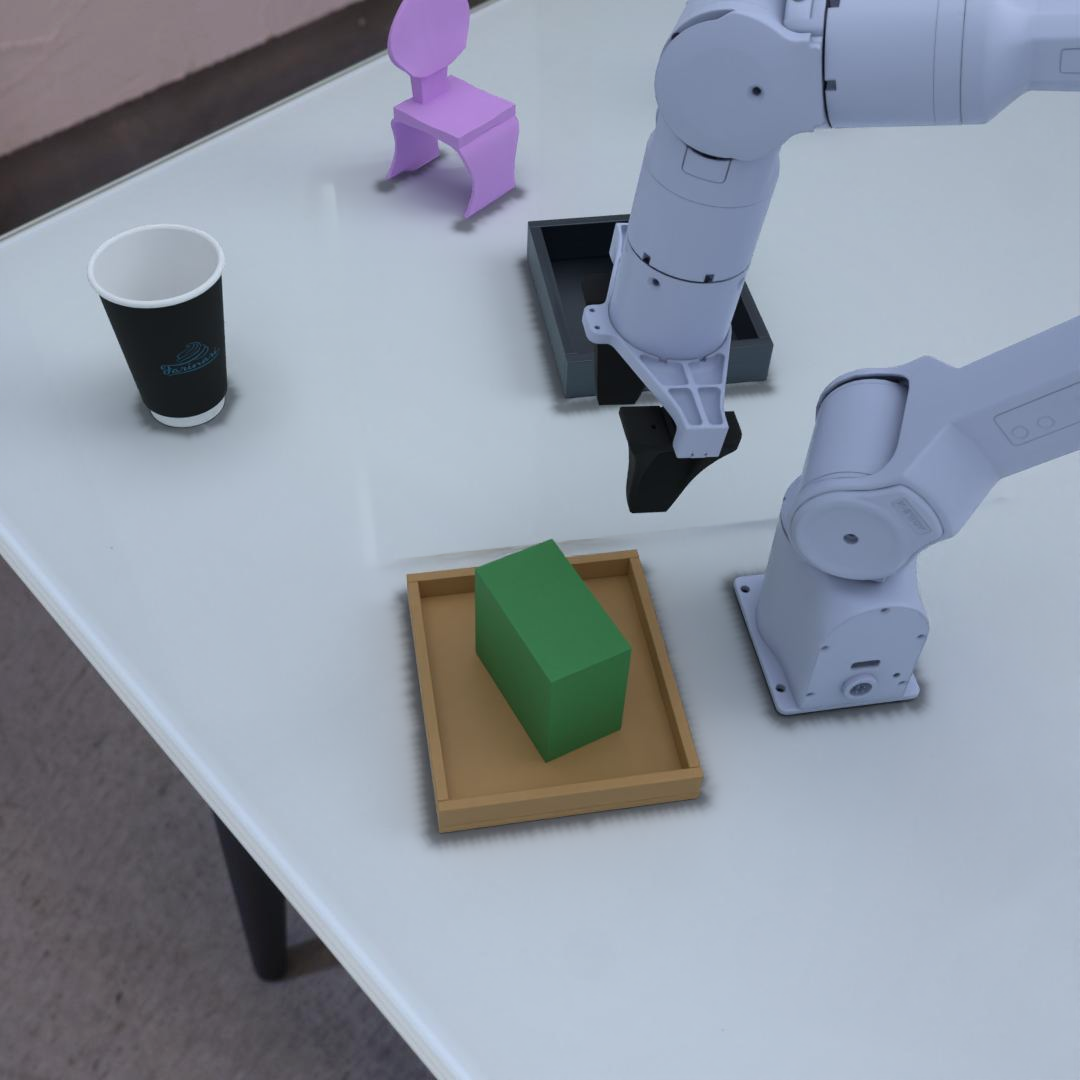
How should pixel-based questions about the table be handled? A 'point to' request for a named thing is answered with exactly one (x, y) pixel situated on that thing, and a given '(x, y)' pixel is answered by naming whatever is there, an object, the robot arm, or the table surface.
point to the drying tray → (499, 738)
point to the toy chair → (448, 102)
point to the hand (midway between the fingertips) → (630, 452)
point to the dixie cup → (167, 317)
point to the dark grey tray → (557, 272)
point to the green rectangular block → (550, 649)
